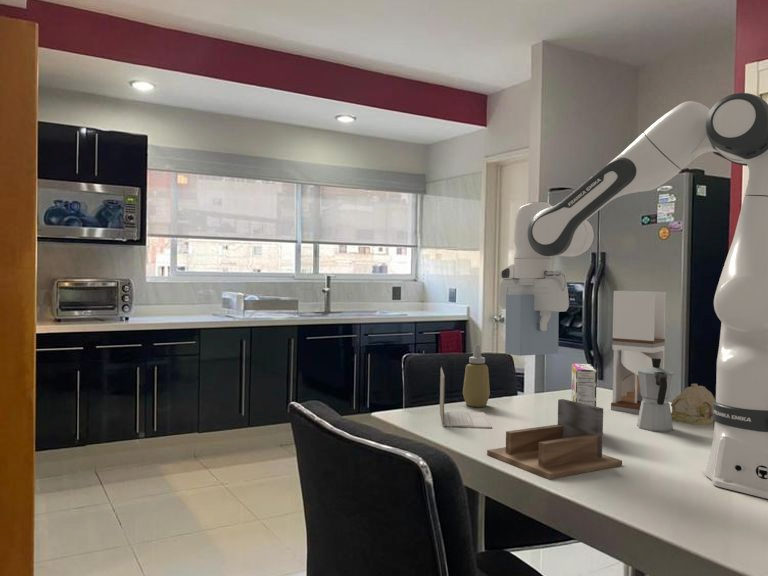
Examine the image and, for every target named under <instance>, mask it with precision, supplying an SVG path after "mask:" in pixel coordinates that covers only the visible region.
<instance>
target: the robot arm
mask: <svg viewBox="0 0 768 576" xmlns="http://www.w3.org/2000/svg"><path fill="white" fill-rule="evenodd" d="M709 152H710V153H711V152H712V153H713V154H714V155H716V156H719V157H721V158H722V159H725V160H726V161H728V162H730V163H733V164H736V165H737V166H738V165H739V166H746V167H748V181H747V184H746V185H747V186H746V189H745V192H744V197H743V200H742V205H741V208H740V212H739V216H738V220H737V224H736V227H735V231H734V235H733V239H732V242H731V244H730V247H729V250H728V253H727V256H726V259H725V262H724V264H723V265H724V266H723V267H722V271H721V274H720V277H719V281H718V284H717V286H716V290H715V294H714V298H713V308H714V312H715V314H716V316H717V318H718V319H719V320H720V322H721V324H720V325H721V326H720V333H719V341H718V342H719V344H718V345H719V346H718V351H717V358H716V380H715V381H716V384H715V401H714V402H713V423H712V427H713V433H712V434H713V435H712V436H713V437H712V443H711V449H710V453H709V456H708V461H707V464H706V466H705V469H704V472H703V474H704V475H705V476H706V477H707V478H709V479H710V480H711V483H712V485H714V486H715V487H719V488H723V489H727V490H731V491H734V492H740V493H743V494H746V495H751V496H755V497H759V498H762V499H767V500H768V103H767V101H766V100H765V99H763V98H762V97H760V96H758V95H755V94H752V93H748V92H737V93H736V92H735V93H731V94H730V95H726V96H723V97H722V98H721V99H720V100H718V101H717V102H716V103H715V104H714V105H713V106H712V107H711V108H709V107H707V106H706V105H705V104H703V103H701V102H697V101H694V100H689V101H687V100H686V101H684V102H681V103H680V104H678V105H676V106H675V107H673V108H672V109H671V110H669V111H668V112H667V113H664V114H663V115H662V116H661V117H659V118H658V119H657V120H655V122H653V123H652V124H651V125H650V126H648V127H647V128H646V129H645V130H644V131H643V132H642V133H641V134H640V135H639V136H637V137H636V138H635V140H633V142H631V143H630V144H629V145H628V146H627V147H626V148H625V149H624V150H622V151H621V152H620V153H619V154H618V155H616V157H614V158H613V159H612V160H611V161H610V162H608V163H607V164H606V165H605V166H603V167H602V168H600V169H599V170H598V171H597V172H595V173H594V174H593V175H592V176H590V177H589V178H588V179H587V180H585V182H583V183H582V184H581V185H580V186H579V187H577V188H576V189H575V190H574V191H572V192H571V193H570V194H569V195H568V196H566V197H565V198H564V199H563V200H562V201H560V202H558V203H557V204H555V205H551V204H550V203H549V202H547V201H543V200H542V201H533V202H532V201H531V202H529V203H526V204H523V205H522V206H520V207H519V208H518V209H517V211H516V215H515V219H514V227H513V229H514V230H513V242H514V245H515V252H514V256H513V263H510V265H508V266H507V267H505V268H503V269H501V270H499V275H498V277H499V279H500V280H501V281H500V283H499V287H498V288H499V289H498V303H499V307H500V308H501V309H502V310H506V294H527V295H534V310H535V311H540V316H542V317H541V320H540V323H537V330H539V331H546V330H547V323H548V321H549V319H550V317H551V311H555V312H559V313H560V312H565V313H566V312H567V310H568V309H569V307H570V299H569V298H570V297H569V289H568V284H567V276H566V275H565V274H564V273H563V272H562V271H561V270H553V257H557V256H558V257H568V258H569V257H571V258H572V257H577V256H581V255H584V254H585V253H587V252H589V251H590V248H592V245H593V243H594V240H595V230H594V227H593V225H592V224H591V222H590V221H589V219H591V217H592V216H594V215H595V214H596V213H597V212H599V211H601V209H603V208H604V207H605V206H606V205H608V204H609V203H610V202H612V201H613V200H615V199H617V198H619V197H622V196H625V195H630V194H634V193H639V192H649V191H653V190H656V189H657V188H659V187H660V186H662V185H664V184H666V183H667V182H668V181H670V180H671V179H673V178H674V177H675V176H676V175H678V174H679V173H681V172H682V170H684V168H685V167H687V166H688V165H689V164H690V163H691V162H692V161H694V160H695V159H697V158H698V157H699V156H701V155H703V154H705V153H709Z"/></svg>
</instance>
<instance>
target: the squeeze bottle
mask: <svg viewBox="0 0 768 576" xmlns="http://www.w3.org/2000/svg"><path fill="white" fill-rule="evenodd" d="M468 360H469V361H468V362H469V363H468V364H466V365H465V368H464V369H465V371H464V379H463V387H462V395H463V399H464V403H465V405H466V406H468V407H472V408H483V407H486V406H487V403H488V401H489V398H490V395H491V390H490V389H491V388H490V375H489V367H488V365H487V364H485V363H486V357H484V356H482V351H481V347H480V344H475V345H474V349H473V354H472V356H469V358H468Z"/></svg>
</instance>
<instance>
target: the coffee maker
mask: <svg viewBox="0 0 768 576" xmlns="http://www.w3.org/2000/svg"><path fill="white" fill-rule="evenodd" d="M651 359H652V365H653V367H651V368H647V369H642V370H639V371H638V376H639V385H640V393H641V396H642V397H643V401H641V406H640V411H639V414H638V417H637V423H636V426H637V427H638V429H641V430H646V431H648V432H649V431H650V432H658V433H659V432H661V433H668V432H673V431H674V426H673V420H672V418H671V413H672V409H671V403H669V399H671V397H672V390H673V383H674V380H675V378H674V377H675V372H673V371H670V370H668V369H665V368H664V369H662V368H659V367H660V362H661V359H659V358H651Z"/></svg>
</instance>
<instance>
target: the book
mask: <svg viewBox="0 0 768 576" xmlns="http://www.w3.org/2000/svg"><path fill="white" fill-rule="evenodd" d="M559 313H560V312H555V311H551V317H550V319H549V321H548V323H547V330H546V331H539V330H537V323H540V320H541V317H542V316H540V311H535V310H534V295H527V294H506V309H505V331H504V332H505V339H504V340H505V341H504V342H505V343H504V344H505V345H504V347H505V349H504V350H505V353H504V354H505V355H511V356H518V357H521V356H525V357H526V356H536V355H538V356H539V355H540V356H542V355H555V354H557V355H558V354H559V323H560V322H559V319H560V318H559V317H560V316H559V315H560V314H559Z"/></svg>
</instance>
